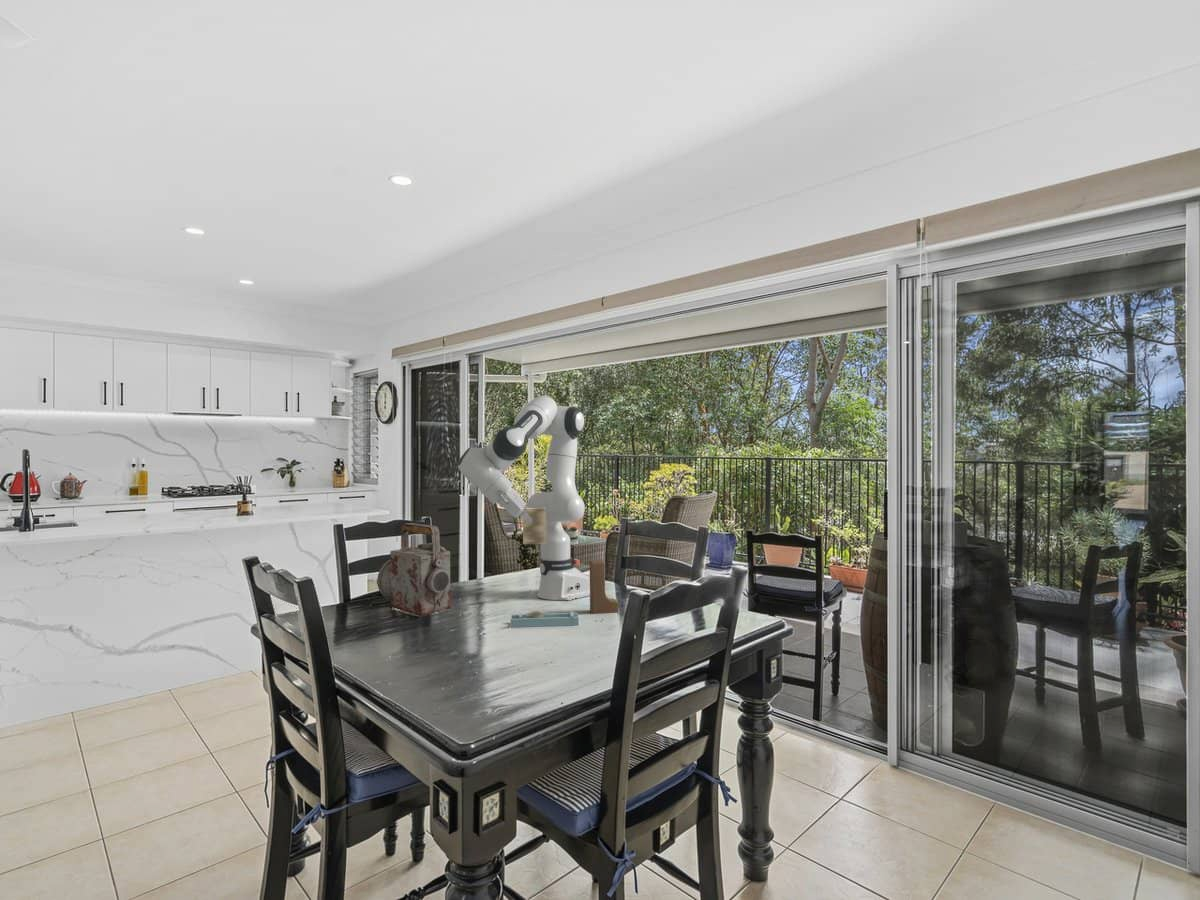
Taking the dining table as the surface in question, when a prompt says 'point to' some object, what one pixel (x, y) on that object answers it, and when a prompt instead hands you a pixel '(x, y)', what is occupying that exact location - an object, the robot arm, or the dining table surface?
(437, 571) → the lantern
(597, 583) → the wooden block
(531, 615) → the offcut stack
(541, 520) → the beige rectangular slab
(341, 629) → the dining table surface
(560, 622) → the rack
